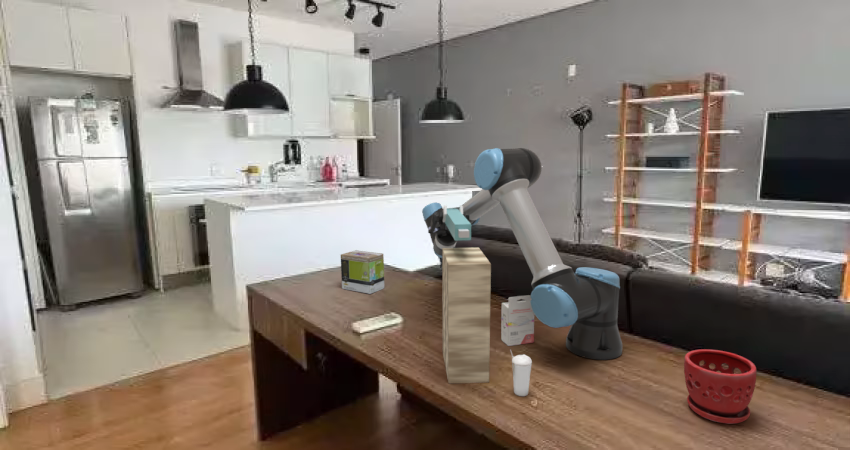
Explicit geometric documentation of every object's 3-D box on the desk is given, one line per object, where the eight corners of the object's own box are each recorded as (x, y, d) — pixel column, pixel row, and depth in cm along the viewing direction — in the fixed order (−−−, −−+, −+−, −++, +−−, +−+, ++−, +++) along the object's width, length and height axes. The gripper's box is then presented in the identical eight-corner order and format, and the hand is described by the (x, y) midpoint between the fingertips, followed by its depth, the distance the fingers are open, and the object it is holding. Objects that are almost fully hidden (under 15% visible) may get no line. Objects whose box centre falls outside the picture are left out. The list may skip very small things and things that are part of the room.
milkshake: (514, 385, 115) (515, 346, 113) (534, 392, 112) (535, 352, 110) (504, 392, 111) (505, 352, 110) (525, 400, 108) (526, 359, 106)
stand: (442, 351, 134) (442, 248, 128) (477, 350, 134) (478, 247, 129) (448, 383, 116) (448, 264, 111) (489, 382, 116) (490, 263, 111)
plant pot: (724, 395, 109) (729, 346, 107) (766, 428, 96) (773, 374, 94) (668, 396, 109) (672, 347, 107) (703, 430, 96) (709, 375, 94)
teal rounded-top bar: (444, 221, 146) (444, 208, 145) (457, 221, 146) (457, 208, 145) (456, 242, 113) (456, 226, 113) (472, 242, 114) (472, 226, 113)
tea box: (385, 288, 193) (384, 253, 191) (369, 295, 185) (368, 258, 183) (357, 283, 201) (355, 249, 199) (341, 289, 193) (339, 253, 190)
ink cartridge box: (526, 336, 144) (527, 290, 141) (534, 342, 139) (535, 294, 137) (500, 339, 142) (501, 292, 139) (507, 346, 137) (508, 297, 134)
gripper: (472, 246, 157) (483, 221, 136) (421, 247, 157) (424, 222, 135) (471, 225, 160) (482, 197, 138) (421, 225, 159) (423, 198, 137)
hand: (453, 209), depth 137 cm, fingers closed on teal rounded-top bar, 4 cm apart
